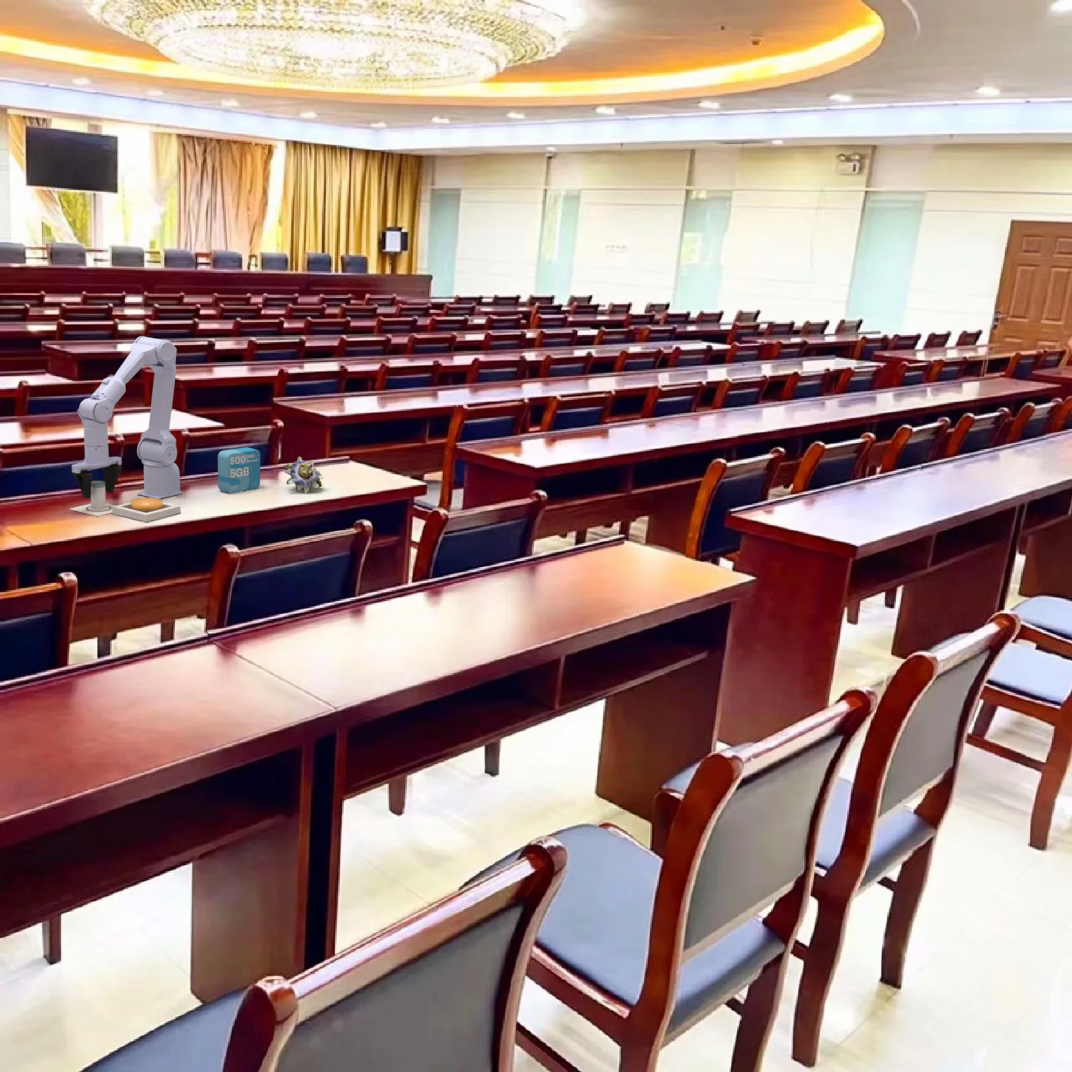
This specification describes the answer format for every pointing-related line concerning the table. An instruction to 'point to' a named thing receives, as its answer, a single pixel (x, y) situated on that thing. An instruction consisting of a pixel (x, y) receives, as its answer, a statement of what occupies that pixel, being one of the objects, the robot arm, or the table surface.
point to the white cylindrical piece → (98, 495)
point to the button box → (145, 512)
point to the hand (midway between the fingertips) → (98, 495)
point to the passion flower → (303, 475)
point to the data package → (238, 470)
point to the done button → (146, 504)
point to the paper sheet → (89, 510)
